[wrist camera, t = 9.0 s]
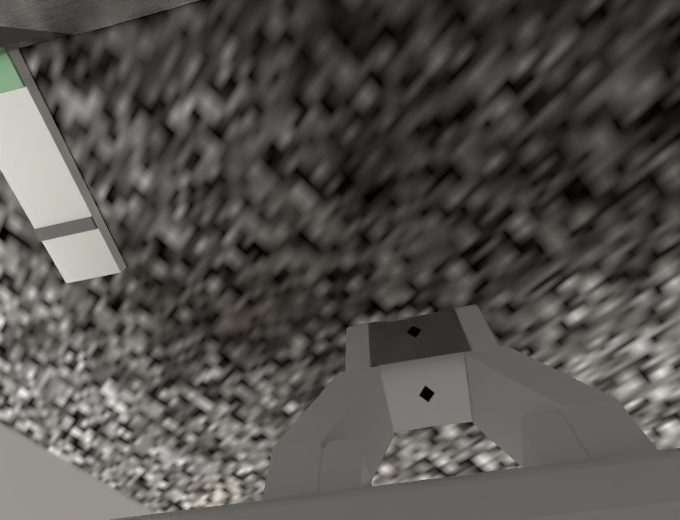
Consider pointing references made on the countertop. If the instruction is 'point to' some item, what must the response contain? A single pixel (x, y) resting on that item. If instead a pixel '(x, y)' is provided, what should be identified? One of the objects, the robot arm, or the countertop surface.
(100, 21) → the plate
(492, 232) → the countertop surface
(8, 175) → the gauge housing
